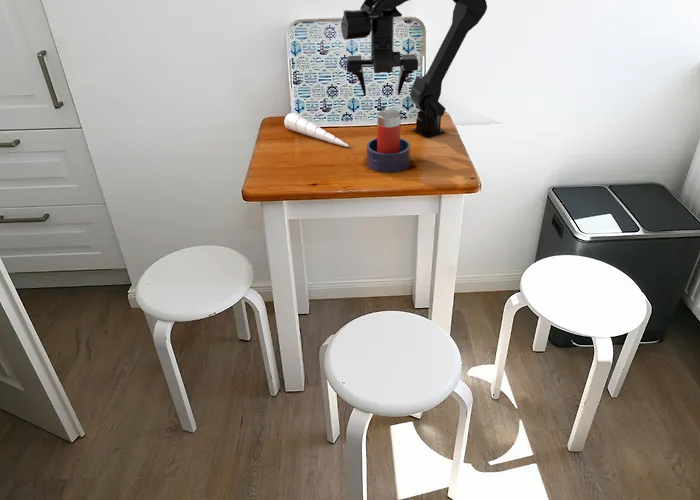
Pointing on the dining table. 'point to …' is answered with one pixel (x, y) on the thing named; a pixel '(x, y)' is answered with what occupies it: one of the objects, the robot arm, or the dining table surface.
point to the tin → (388, 131)
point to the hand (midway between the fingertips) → (381, 94)
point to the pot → (388, 157)
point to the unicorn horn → (310, 129)
